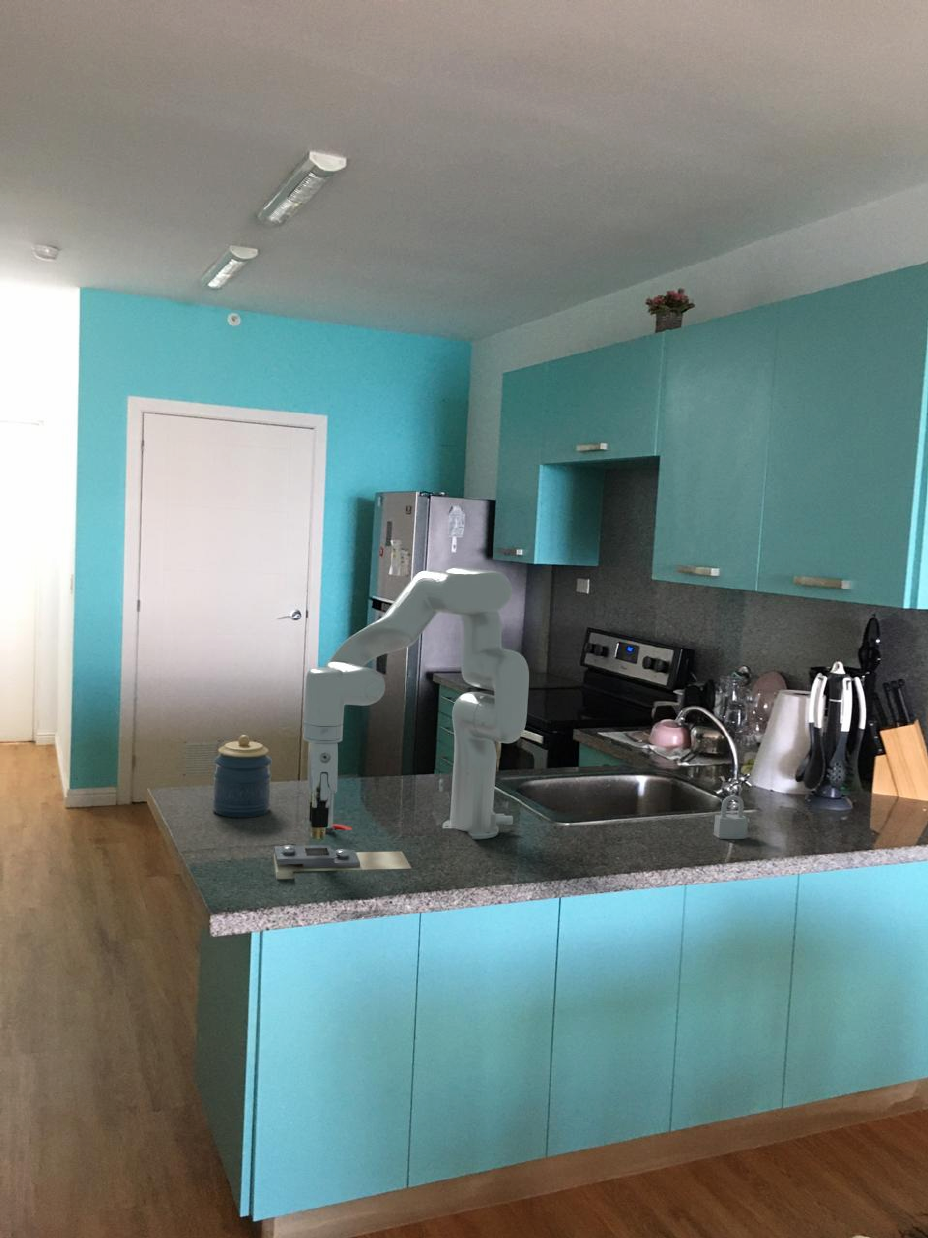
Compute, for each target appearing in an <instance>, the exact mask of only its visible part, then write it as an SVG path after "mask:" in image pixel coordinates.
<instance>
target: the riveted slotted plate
mask: <svg viewBox="0 0 928 1238" xmlns="http://www.w3.org/2000/svg"><path fill="white" fill-rule="evenodd" d="M273 854H275V858H276V863H277V864H302V867H303V869H316V868H358V867H360V861H359V859H358V856H357V854H356V850H355V849H345V848H341V849H340V848H339V849H332V846H331V845H330V844H327V845H320V844H319V845H289V844H286V845H277V846H275V845H274V848H273Z"/></svg>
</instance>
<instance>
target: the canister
mask: <svg viewBox="0 0 928 1238" xmlns="http://www.w3.org/2000/svg"><path fill="white" fill-rule="evenodd" d="M217 751H218V753H219V754H218V755H217V756H216V757H215V758H214V760H213V761H214V764H215V766H216V768H215V771H214V773H213V780H214V781H213V798H212V807H213V812H214V813H216V814H218V815H220V816H224V817H227V818H237V819H238V818H254V817H258V816H262V815H264V814H267V813H268V811H269V809H270V805H271V798H270V797H271V796H270V794H271V793H270V791H271V777H272V773H271V772H270V765H271V764H272V763H273V760H272V758H271V757H270V756H268V754H269V749H268V748H267V747H265V746H264V745H263V744H262V743H259V742H256V741H251V740H250V737H249V735H247V734H243V735H242V734H241V735H240V736H239V737H238V739H237V740H235V741H230V742H227V743H225V744H224V745H223V746H221V747H219V748H218V750H217Z"/></svg>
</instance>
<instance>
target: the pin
mask: <svg viewBox="0 0 928 1238" xmlns="http://www.w3.org/2000/svg"><path fill="white" fill-rule="evenodd" d="M317 791H320V789H317ZM318 797H320V795H317V798H318ZM311 802H312V807H314V793H313V795H312V801H311ZM311 816H312V815H311ZM309 835H310V839H313V840H323V839H325V838H326V833H325V828H312V827H311V826H310V834H309Z"/></svg>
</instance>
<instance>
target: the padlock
mask: <svg viewBox="0 0 928 1238" xmlns="http://www.w3.org/2000/svg"><path fill="white" fill-rule="evenodd" d="M730 801H736V802H738V810H737V811H738V812H737V814H732V813H731V814H728V813H727V810H728V809H727V808H728V803H729V802H730ZM721 803H722V804H721V812H720V813H721V814H715V817H714V825H713V835H714V836H715V837H716V838H717V839H719V840H720V839H722V840H723V839H725V840H741V839H742V840H745V839H747V836H748V828H749V827H748V825H749V818H748V817H746V816H745V815H744V808H745V807H744V806H745V805H744V800H743V798H742V797H740V796H738V795H735V794H733V795H728V796H726V797H724V799H723V801H722V802H721Z"/></svg>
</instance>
